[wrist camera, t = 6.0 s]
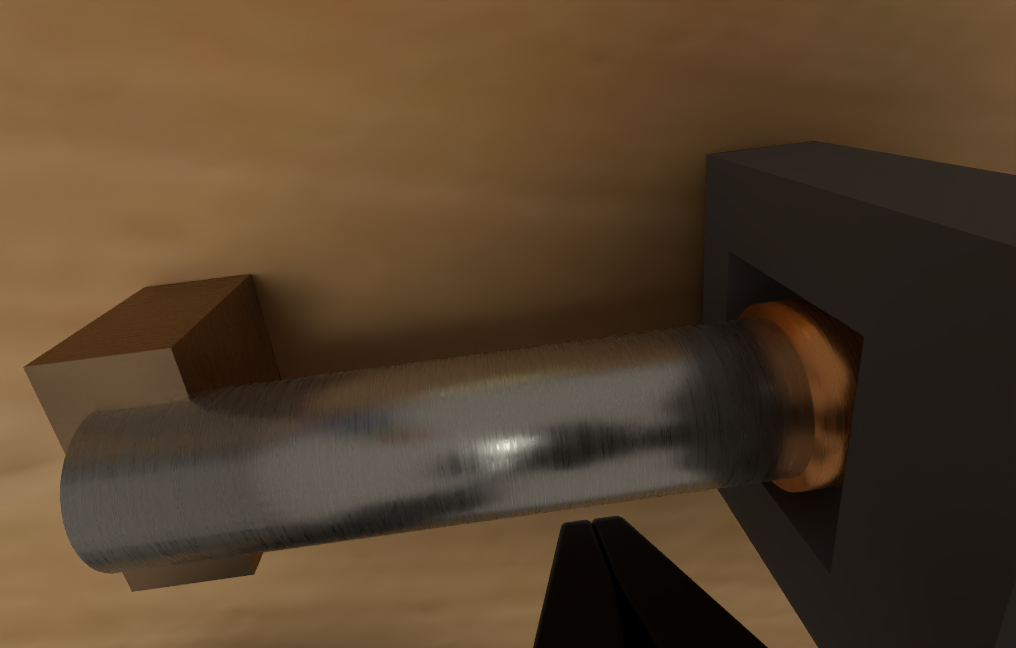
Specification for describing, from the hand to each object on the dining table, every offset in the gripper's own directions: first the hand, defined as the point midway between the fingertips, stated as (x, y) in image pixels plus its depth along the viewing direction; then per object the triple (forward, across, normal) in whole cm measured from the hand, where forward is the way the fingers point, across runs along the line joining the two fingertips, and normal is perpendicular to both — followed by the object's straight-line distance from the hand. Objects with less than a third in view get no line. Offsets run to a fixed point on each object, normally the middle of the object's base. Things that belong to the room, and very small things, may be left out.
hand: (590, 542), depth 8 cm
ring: (+7, -5, 0) cm, 9 cm away
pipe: (+7, 0, 0) cm, 7 cm away
